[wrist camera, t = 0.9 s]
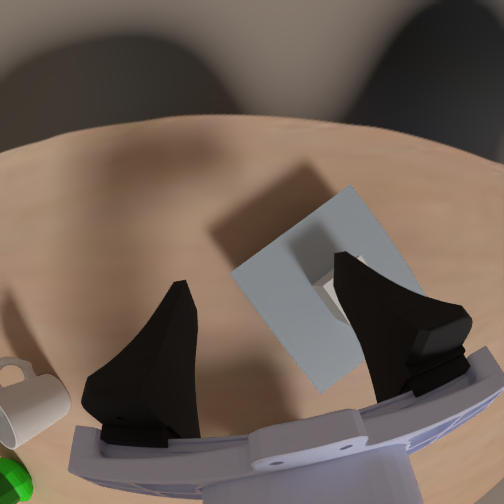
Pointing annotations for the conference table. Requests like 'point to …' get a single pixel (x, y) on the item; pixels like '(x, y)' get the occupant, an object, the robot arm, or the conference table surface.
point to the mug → (30, 404)
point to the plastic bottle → (14, 482)
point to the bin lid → (319, 284)
